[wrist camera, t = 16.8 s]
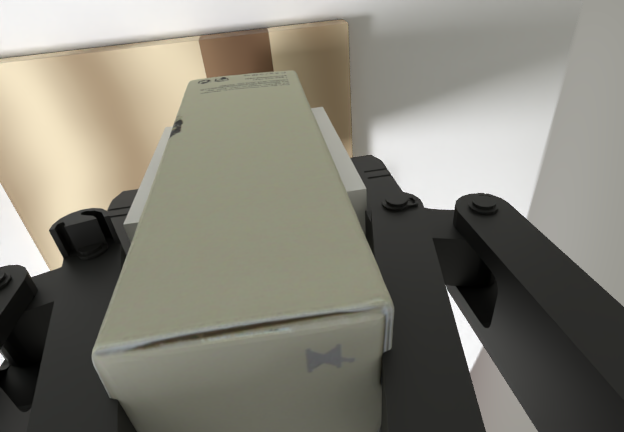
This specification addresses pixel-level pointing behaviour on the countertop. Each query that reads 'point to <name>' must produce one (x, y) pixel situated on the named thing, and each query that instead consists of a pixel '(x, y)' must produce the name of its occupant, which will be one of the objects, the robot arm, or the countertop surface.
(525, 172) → the countertop surface
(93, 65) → the board
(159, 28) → the countertop surface
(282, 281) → the box
